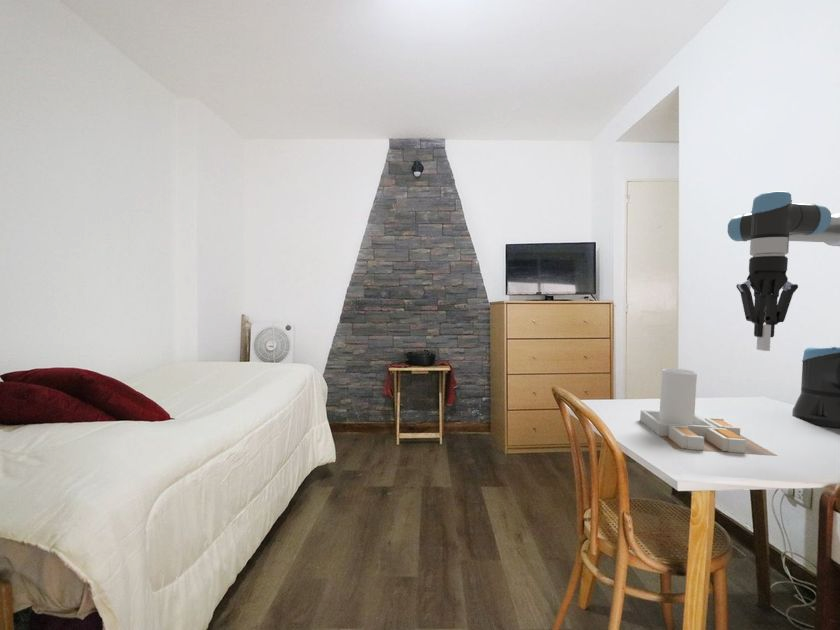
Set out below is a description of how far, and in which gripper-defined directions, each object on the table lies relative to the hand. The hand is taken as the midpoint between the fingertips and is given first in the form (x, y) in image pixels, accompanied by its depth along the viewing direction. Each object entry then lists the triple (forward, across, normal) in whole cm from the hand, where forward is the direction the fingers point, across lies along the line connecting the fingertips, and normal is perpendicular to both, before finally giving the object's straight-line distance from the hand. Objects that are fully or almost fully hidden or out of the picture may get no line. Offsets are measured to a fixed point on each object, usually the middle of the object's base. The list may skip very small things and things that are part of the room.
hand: (763, 350), depth 110 cm
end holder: (+23, +17, -6) cm, 29 cm away
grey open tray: (+23, +10, +6) cm, 26 cm away
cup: (+23, +17, -6) cm, 30 cm away
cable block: (+23, +10, +6) cm, 26 cm away
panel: (+24, +13, -1) cm, 28 cm away
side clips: (+23, +13, +1) cm, 27 cm away
